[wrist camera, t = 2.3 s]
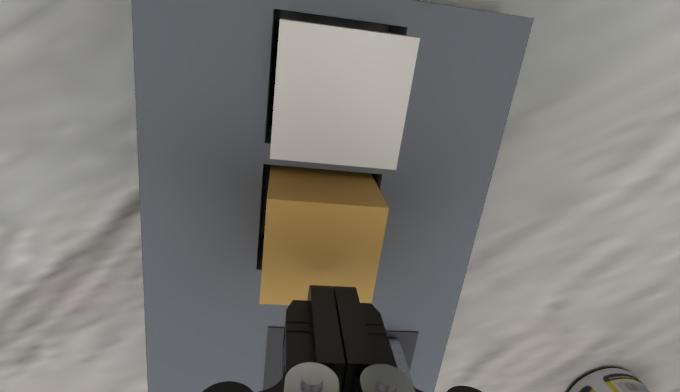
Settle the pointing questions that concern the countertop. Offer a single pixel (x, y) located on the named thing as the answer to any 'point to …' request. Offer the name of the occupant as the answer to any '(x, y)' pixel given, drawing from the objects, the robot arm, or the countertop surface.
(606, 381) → the supplement bottle
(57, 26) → the countertop surface
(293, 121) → the ivory button
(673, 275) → the countertop surface
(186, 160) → the panel
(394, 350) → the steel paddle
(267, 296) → the amber button
